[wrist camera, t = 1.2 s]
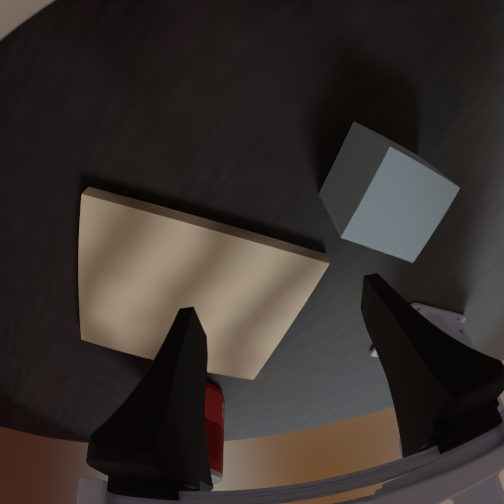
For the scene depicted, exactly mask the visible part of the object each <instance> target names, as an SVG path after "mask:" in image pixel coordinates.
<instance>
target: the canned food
mask: <svg viewBox="0 0 504 504" xmlns="http://www.w3.org/2000/svg"><path fill="white" fill-rule="evenodd" d="M224 411H225V401H224V397H223V394H222V392H221V390H220V389H219V388H218V387H216V386H215V385H213V384H211V383H209V382H206V394H205V421H206V435H207V446H208V455H209V463H210V470H211V477H212V483H213V484H217V483H219V482H221V481H222V476H223V474H222V473H223V445H224Z"/></svg>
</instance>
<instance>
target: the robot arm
mask: <svg viewBox="0 0 504 504" xmlns="http://www.w3.org/2000/svg"><path fill="white" fill-rule="evenodd" d="M361 311H362V315H363V318H364V322H365V325H366V328H367V331H368V333H369V336H370V338H371V340H372V343H373V345H374V348H373V349H372V350H371V352H370V354H371V356H374V357H379V359H380V361H381V364H382V366H383V369H384V371H385V374H386V377H387V380H388V384H389V388H390V391H391V395H392V399H393V403H394V407H395V412H396V417H397V422H398V427H399V432H400V440H399V445H400V452H401V455H402V459H399V460H396V461H393V462H389V463H386V464H383V465H380V466H376V467H373V468H369V469H366V470H362V471H358V472H354V473H350V474H346V475H341V476H337V477H332V478H328V479H322V480H317V481H312V482H306V483H300V484H293V485H286V486H279V487H270V488H260V489H249V490H235V491H211V490H212V489H213V483H212V477H211V470H210V463H209V455H208V446H207V435H206V421H205V394H206V379H207V364H208V348H207V336H206V333H205V331H204V329H203V327H202V325H201V322H200V320H199V318H198V315H197V313H196V311H195V309H194V306H193V307H186V308H180V309H179V310H178V312H177V315H176V317H175V319H174V321H173V323H172V325H171V328H170V330H169V332H168V334H167V336H166V338H165V340H164V342H163V344H162V345H161V347H160V349H159V351H158V353H157V355H156V356H155V358H154V360H153V362H152V363H151V365H150V367H149V368H148V370H147V372H146V373H145V375H144V376H143V378H142V379H141V381H140V382H139V384H138V385H137V386H136V388H135V389H134V390H133V392H132V393H131V394H130V395H129V397H128V398H127V399H126V400H125V402H124V403H123V404H122V405H121V406H120V407H119V408H118V409H117V410H116V411H115V413H114V414H113V415H112V416H111V417H110V418H109V419H108V420H107V421H106V422H105V423H103V424H102V425H101V426H100V427H99V428H98V429H97V430H96V431H94V432H93V433H92V434H91V436H90V440H89V445H88V451H87V452H88V453H87V458H86V462H87V464H88V465H89V466H90V467H92V468H94V469H96V470H98V471H100V472H101V473H103V474H106V475H108V476H109V477H108V482H107V481H104V480H99V479H94V478H88V477H83V476H81V477H80V480H79V488H78V496H77V504H279V503H287V502H294V501H300V500H307V499H313V498H319V497H324V496H329V495H333V494H338V493H343V492H347V491H351V490H355V489H359V488H363V487H367V486H370V485H373V484H377V483H380V482H384V481H387V480H390V479H393V478H397V477H399V478H397V479H395V480H392V481H389V482H387V483H384V484H383V486H382V488H380V489H378V490H376V491H375V495H370V496H366V497H362V498H358V499H353V500H349V501H344V502H340V503H335V504H439V503H441V502H443V501H445V500H451V501H453V503H454V504H504V491H503V488H502V485H501V482H500V479H499V476H498V475H499V473H500V472H501V470H503V469H504V405H503V403H502V401H501V399H500V397H499V395H500V394H501V393H502V392H503V391H504V365H503V363H502V362H501V361H500V360H497V359H495V358H492V357H490V356H487V355H485V354H483V353H480V352H478V351H476V350H475V348H474V346H473V344H472V342H471V340H470V339H469V337H468V335H467V333H466V331H465V330H464V328H463V326H462V325H461V324H462V323H463V322H464V321H465V319H466V317H465V315H462V314H458V313H454V312H451V311H447V310H443V309H439V308H435V307H431V306H428V305H424V304H420V303H412V304H411V305H410V304H409V303H408V302H407V301H406V300H405V299H403V298H402V297H401V296H400V295H399V294H398V293H397V292H396V291H395V290H394V289H393V288H392V287H391V286H390V285H389V284H388V283H387V282H386V281H385V280H384V279H383V278H382V277H381V276H380V275H379V274H377V273H376V274H371V275H366V276H364V280H363V291H362V302H361ZM408 473H409V474H408ZM405 474H407V475H405ZM403 475H404V476H403ZM400 476H402V477H400Z"/></svg>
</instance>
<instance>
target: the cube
mask: <svg viewBox="0 0 504 504" xmlns="http://www.w3.org/2000/svg"><path fill="white" fill-rule="evenodd" d="M459 189H460V188H459V187H458V186H457V185H456V184H455V183H453V182H452V181H451V180H450V179H448V178H447V177H446V176H444V175H443V174H442V173H441V172H439V171H438V170H437V169H435V168H434V167H433V166H431V165H430V164H429V163H427V162H426V161H425V160H423V159H422V158H421V157H419V156H418V155H416V154H414V153H413V152H411V151H409V150H407V149H406V148H404V147H402V146H400V145H399V144H397V143H395V142H393V141H391V140H389V139H388V138H386V137H384V136H382V135H380V134H378V133H376V132H374V131H372V130H370V129H368V128H366V127H364V126H362V125H360V124H358V123H356V122H353V124H352V126H351V128H350V130H349V132H348V135H347V137H346V139H345V141H344V143H343V145H342V147H341V149H340V151H339V153H338V155H337V157H336V160H335V162H334V164H333V166H332V168H331V170H330V172H329V174H328V176H327V178H326V180H325V182H324V184H323V186H322V188H321V190H320V192H319V196H320V198H321V200H322V201H323V203H324V205H325V207H326V209H327V211H328V213H329V215H330V217H331V219H332V221H333V223H334V225H335V227H336V229H337V231H338V233H339V236H340V238H343V239H346V240H349V241H352V242H355V243H358V244H361V245H364V246H367V247H369V248H372V249H375V250H378V251H381V252H384V253H387V254H390V255H392V256H395V257H398V258H401V259H404V260H406V261H409V262H412V263H413V262H414V261H415V259H416V258H417V256H418V255H419V253H420V252H421V250H422V249H423V247H424V246H425V244H426V243H427V241H428V240H429V238H430V237H431V235H432V234H433V232H434V231H435V229H436V228H437V226H438V224H439V223H440V221H441V220H442V218H443V216H444V215H445V213H446V211H447V210H448V208H449V206H450V205H451V203H452V201H453V200H454V198H455V196H456V195H457V193H458V191H459Z"/></svg>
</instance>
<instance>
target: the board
mask: <svg viewBox="0 0 504 504" xmlns="http://www.w3.org/2000/svg"><path fill="white" fill-rule="evenodd" d="M329 264H330V263H329V260H328V258H327V255H326V254H324V253H321V252H318V251H314V250H311V249H308V248H304V247H301V246H298V245H294V244H291V243H288V242H284V241H281V240H278V239H274V238H271V237H267V236H264V235H260V234H257V233H254V232H250V231H247V230H243V229H240V228H236V227H233V226H229V225H226V224H222V223H219V222H215V221H212V220H208V219H205V218H201V217H198V216H194V215H191V214H187V213H184V212H180V211H176V210H173V209H169V208H166V207H162V206H158V205H155V204H151V203H147V202H144V201H140V200H136V199H133V198H129V197H125V196H122V195H118V194H114V193H111V192H107V191H103V190H99V189H96V188H92V187H88V188H87V189H86V190H85V191H84V192H83V193H82V196H81V209H80V225H79V253H78V284H79V312H80V328H81V339H82V340H85V341H88V342H91V343H94V344H98V345H101V346H104V347H108V348H111V349H114V350H118V351H121V352H125V353H129V354H132V355H136V356H140V357H144V358H148V359H152V360H154V358H155V356H156V355H157V353H158V351H159V349H160V347H161V345H162V344H163V342H164V340H165V338H166V336H167V334H168V332H169V330H170V328H171V325H172V323H173V321H174V319H175V317H176V315H177V312H178V310H179V309H180V308H186V307H193V306H194V309H195V311H196V313H197V315H198V318H199V320H200V322H201V325H202V327H203V329H204V331H205V333H206V336H207V348H208V364H207V372H210V373H216V374H221V375H227V376H232V377H238V378H244V379H251V380H254V378H255V377H256V375H257V374H258V373H259V371H260V370H261V368H262V367H263V365H264V364H265V363H266V361H267V360H268V358H269V357H270V355H271V354H272V352H273V351H274V350H275V348H276V347H277V345H278V344H279V342H280V341H281V339H282V338H283V336H284V335H285V333H286V332H287V330H288V329H289V327H290V326H291V324H292V323H293V321H294V320H295V318H296V316H297V315H298V313H299V312H300V310H301V309H302V307H303V306H304V304H305V303H306V301H307V299H308V298H309V296H310V295H311V293H312V291H313V290H314V288H315V287H316V285H317V283H318V282H319V280H320V279H321V277H322V275H323V274H324V272H325V271H326V269H327V267H328V266H329Z"/></svg>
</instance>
